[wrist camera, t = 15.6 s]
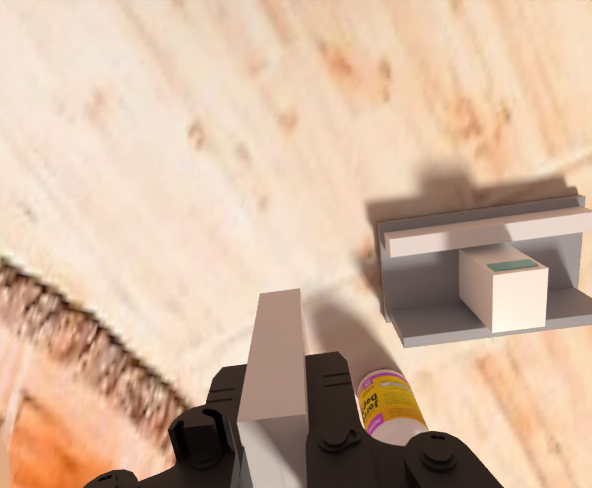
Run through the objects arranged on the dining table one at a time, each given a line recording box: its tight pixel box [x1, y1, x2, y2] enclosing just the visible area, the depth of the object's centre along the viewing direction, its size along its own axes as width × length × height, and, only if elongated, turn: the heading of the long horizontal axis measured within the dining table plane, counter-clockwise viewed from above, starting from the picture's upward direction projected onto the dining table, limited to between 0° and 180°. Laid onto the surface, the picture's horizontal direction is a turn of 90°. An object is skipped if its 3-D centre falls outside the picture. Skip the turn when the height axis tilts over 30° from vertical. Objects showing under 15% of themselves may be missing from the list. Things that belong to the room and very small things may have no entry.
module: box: [459, 242, 549, 333], centre depth 41 cm, size 6×5×8 cm
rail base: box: [377, 195, 592, 348], centre depth 42 cm, size 12×22×7 cm, turn 98°
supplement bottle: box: [358, 369, 429, 446], centre depth 45 cm, size 7×7×13 cm
